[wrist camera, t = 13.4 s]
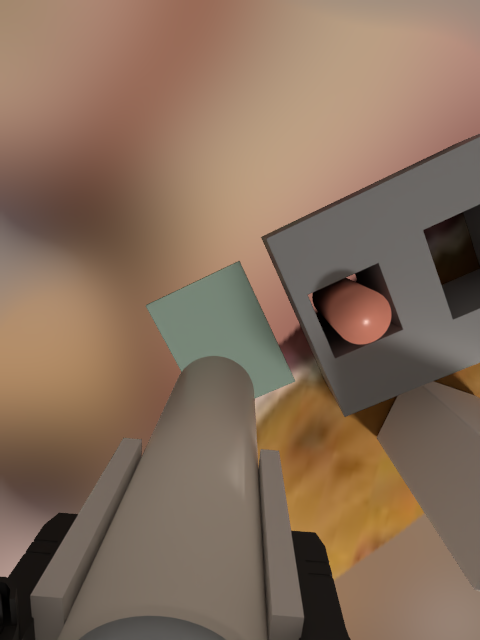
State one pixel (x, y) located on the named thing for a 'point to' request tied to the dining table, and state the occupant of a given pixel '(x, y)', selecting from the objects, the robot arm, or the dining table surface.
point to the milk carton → (441, 464)
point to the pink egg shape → (353, 310)
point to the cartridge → (185, 524)
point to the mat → (222, 327)
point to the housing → (389, 277)
